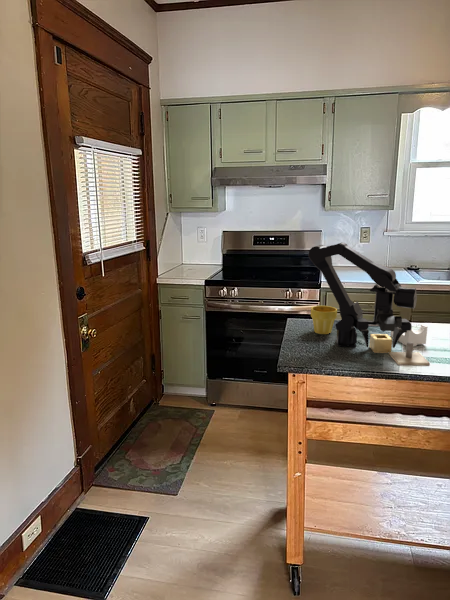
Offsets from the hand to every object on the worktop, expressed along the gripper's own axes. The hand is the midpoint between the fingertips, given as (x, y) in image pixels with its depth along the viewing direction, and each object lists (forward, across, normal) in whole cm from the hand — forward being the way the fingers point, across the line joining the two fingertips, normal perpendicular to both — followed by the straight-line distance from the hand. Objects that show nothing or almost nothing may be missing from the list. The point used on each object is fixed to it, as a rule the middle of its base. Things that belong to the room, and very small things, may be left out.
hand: (380, 347), depth 160 cm
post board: (+1, +7, -9) cm, 11 cm away
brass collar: (+1, 0, 0) cm, 1 cm away
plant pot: (+1, -17, +21) cm, 27 cm away
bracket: (+2, +13, +12) cm, 18 cm away
